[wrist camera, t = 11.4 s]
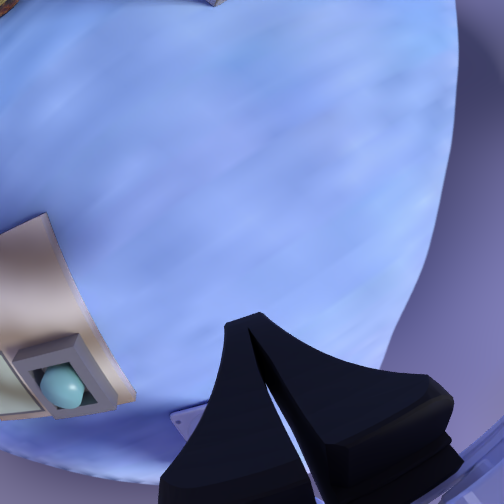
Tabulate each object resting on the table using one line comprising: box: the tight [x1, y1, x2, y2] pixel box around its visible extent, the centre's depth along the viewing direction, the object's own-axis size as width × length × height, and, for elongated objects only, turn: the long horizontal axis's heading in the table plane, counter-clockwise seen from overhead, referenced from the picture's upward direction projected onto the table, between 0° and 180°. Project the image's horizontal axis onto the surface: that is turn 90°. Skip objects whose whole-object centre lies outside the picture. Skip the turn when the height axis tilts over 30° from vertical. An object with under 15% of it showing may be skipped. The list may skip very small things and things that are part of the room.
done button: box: [40, 362, 85, 409], centre depth 17 cm, size 3×3×2 cm
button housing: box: [12, 333, 118, 420], centre depth 18 cm, size 6×6×2 cm
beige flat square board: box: [0, 212, 136, 421], centre depth 17 cm, size 15×16×1 cm
